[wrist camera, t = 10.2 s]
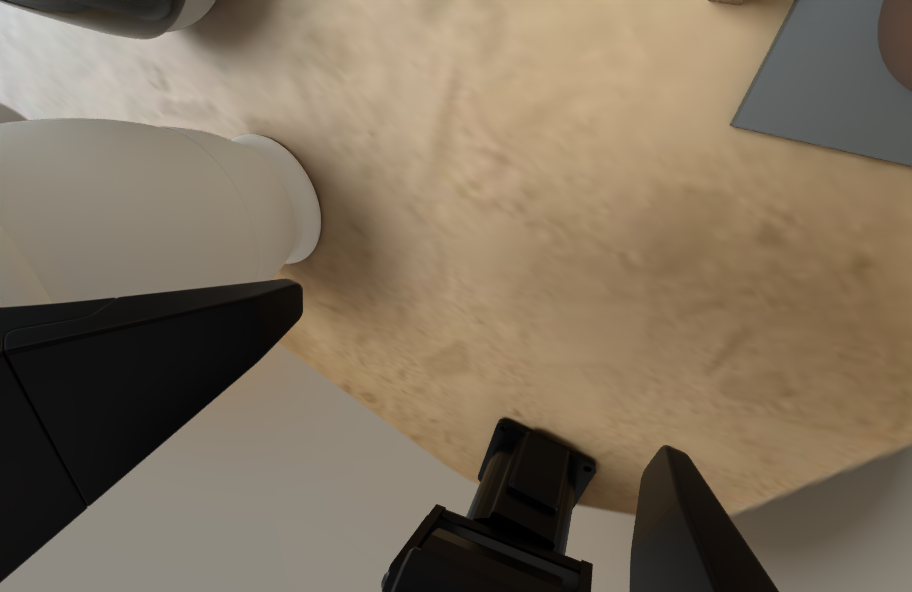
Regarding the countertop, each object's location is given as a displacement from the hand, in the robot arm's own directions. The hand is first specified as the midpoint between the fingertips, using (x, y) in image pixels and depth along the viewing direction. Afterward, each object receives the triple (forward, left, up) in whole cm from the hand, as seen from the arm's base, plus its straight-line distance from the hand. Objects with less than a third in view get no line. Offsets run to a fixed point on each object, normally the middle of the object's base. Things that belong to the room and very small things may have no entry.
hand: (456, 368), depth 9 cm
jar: (-4, +18, -12) cm, 22 cm away
